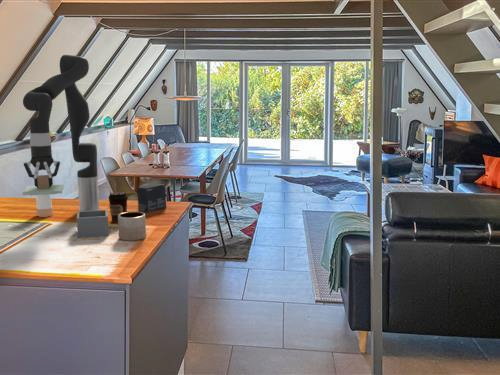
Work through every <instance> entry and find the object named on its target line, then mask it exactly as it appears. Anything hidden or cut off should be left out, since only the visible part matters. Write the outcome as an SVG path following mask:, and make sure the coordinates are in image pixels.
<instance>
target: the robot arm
mask: <svg viewBox="0 0 500 375" xmlns="http://www.w3.org/2000/svg"><path fill="white" fill-rule="evenodd" d="M59 59H60V60H59V71H60V73H58V74H56V75H53V76H52V77H49V78H48V79H46V80H45V81H44V82H43V83H42V84H41V85H40V86H37V87H35V88H33V89H31V90H30V91H28V92H27V93H26V94H24V96H23V99H22V104H23V107H24V108H25V109H26V110H28V111H31V112H38V115H37V116H35V117H34V116H33V117H31V118H30V119H29V133H30V135H29V140H30V141H29V145H30V156H31V158H30V160H29V161H25V162H23V167H24V168H25V171H26V173H27V175H28V177H29V178H33V180H34V182H33V184H34V186H37V188H38V180H37V177H38V175H39V173H40V171H45V172H46V175H48V176H49V187H51V186H52V185H54V181H53V178H55V177H57V176H58V172H59V168H60V165H61V161H59V160H54V158H53V150H52V140H51V139H52V137H51V132H50V118H51V114H52V109H53V100H55V99H56V98H57V97H58V96H59V95H60V94H61V93H63V91H64V94H65V99H66V100H65V101H66V109H67V116H68V123H69V128H70V134H71V136H70V137H71V147H72V149H71V150H72V157H73V160H74V162H75V163H89V165H88V166H86V167H84V168H81V169H79V170H78V171H77V174H76V175H77V189H78V191H77V192H78V207H79V210H78V211H93V210H100V198H99V196H100V195H99V181H98V180H99V179H98V176H99V175H98V149H97V144H96V143H94V142H80V138H81V136H82V133H83V131H84V129H85V128H86V127H87V124H88V123H89V120H90V108H89V103H88V101H87V100H86V98H85V97H84V95H83V94H82V92H81V90H79V88H78V86H77V85H76V83H77V82H78V81H81V80H82V79H84V78H85V77H86V76H87V75H88V72H89V70H90V64H89V62H88V59H87V58H86V57H84V56H79V55H72V54H63V55H62V56H61V57H60V58H59ZM52 164H53V166H54V167H55V168H54V171H53V173H52V171H51V167H52ZM31 165H32V166H33V167H34V173H33V172H32V170H31V168H30V167H31Z"/></svg>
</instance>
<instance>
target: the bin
mask: <svg viewBox="0 0 500 375" xmlns="http://www.w3.org/2000/svg"><path fill="white" fill-rule="evenodd" d="M108 213H109V212H108V209H99V210H93V211H79V210H78V211H77V213H76V214H77V215H76V230H77V238H78V239H79V238H91V237H92V238H93V237H94V238H95V237H105V236H109V231H110V230H109V214H108Z"/></svg>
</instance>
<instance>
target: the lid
mask: <svg viewBox="0 0 500 375" xmlns="http://www.w3.org/2000/svg"><path fill="white" fill-rule="evenodd" d="M37 180H38V188H37V186H35V185H27V186H26V187H25V189H24V190H23V192H22V196H37V195H47V194H50V195H57V194H62V193H63V191H64V188H65V185H64V183H63V184H53V185H52V186H51V187H49V176H48V174H40V175H39V174H38V177H37Z"/></svg>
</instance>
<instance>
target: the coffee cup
mask: <svg viewBox="0 0 500 375" xmlns="http://www.w3.org/2000/svg"><path fill="white" fill-rule="evenodd" d="M128 198H129V196H128V195H127V192H125V191H116V192H110V194H109V195H108V201H109V213H110V216H111V222H112V223H118V215H119V214H120V213H124V212H128V210H127V209H128Z"/></svg>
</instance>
